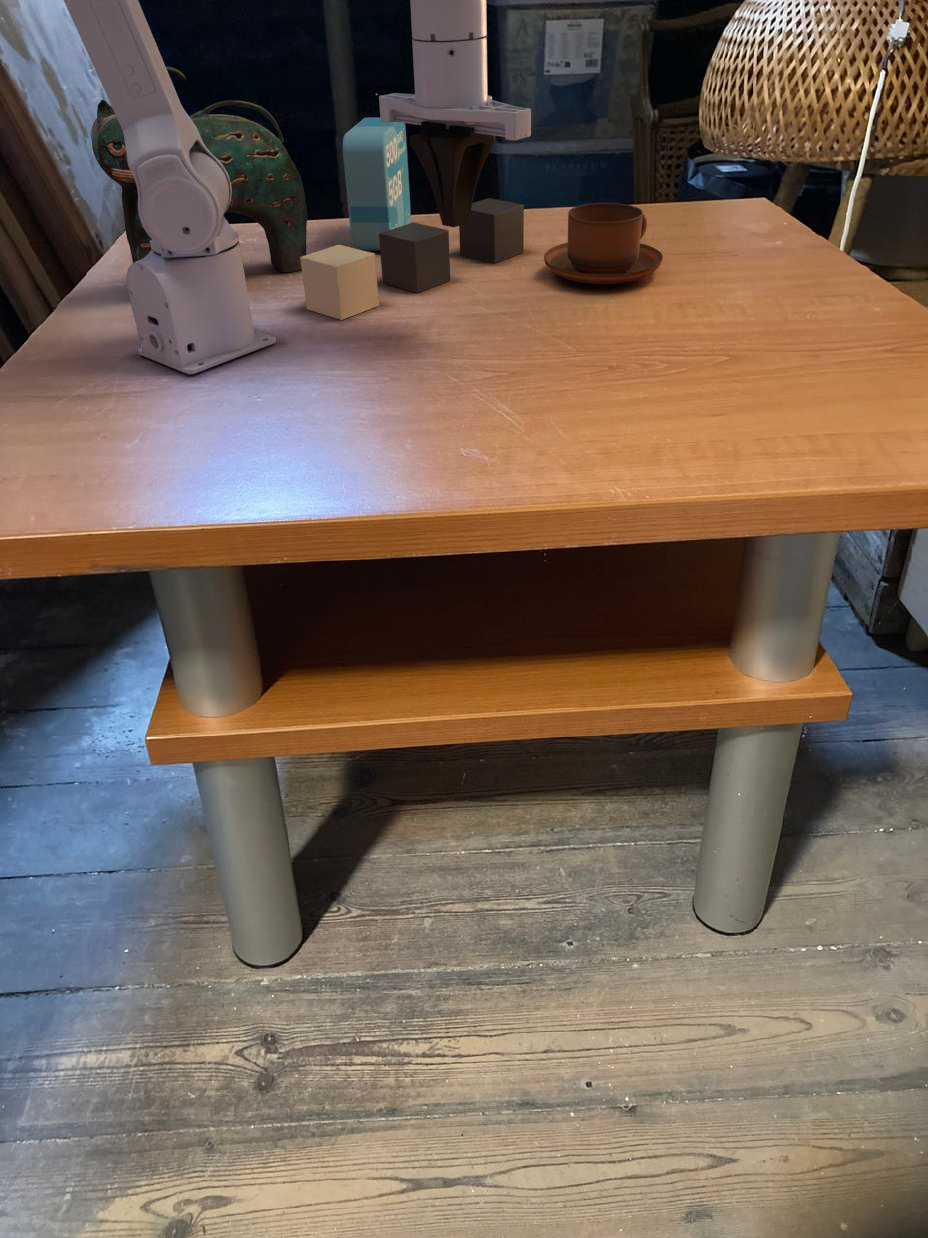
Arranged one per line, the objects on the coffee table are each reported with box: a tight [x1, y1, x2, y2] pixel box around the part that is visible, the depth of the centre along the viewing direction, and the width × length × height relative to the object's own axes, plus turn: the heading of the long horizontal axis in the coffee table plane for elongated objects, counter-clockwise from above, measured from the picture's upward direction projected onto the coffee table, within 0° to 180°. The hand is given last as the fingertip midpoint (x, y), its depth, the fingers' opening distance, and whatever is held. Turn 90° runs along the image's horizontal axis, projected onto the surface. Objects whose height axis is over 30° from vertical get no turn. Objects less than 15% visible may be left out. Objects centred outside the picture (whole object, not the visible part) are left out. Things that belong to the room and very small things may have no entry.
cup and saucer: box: [543, 202, 664, 285], centre depth 97 cm, size 12×12×6 cm
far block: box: [458, 197, 525, 264], centre depth 105 cm, size 5×5×5 cm
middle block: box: [379, 222, 451, 294], centre depth 98 cm, size 5×5×5 cm
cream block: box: [300, 244, 380, 321], centre depth 92 cm, size 5×5×5 cm
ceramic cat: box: [90, 65, 308, 273], centre depth 95 cm, size 20×6×20 cm, turn 121°
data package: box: [342, 117, 412, 252], centre depth 108 cm, size 12×4×12 cm, turn 172°
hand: (455, 223), depth 82 cm, fingers closed
